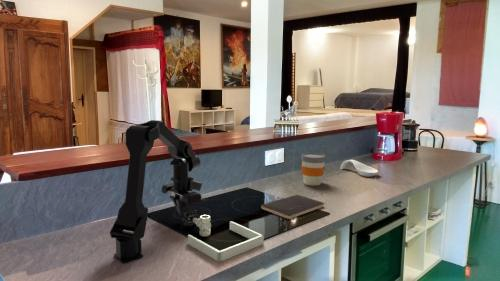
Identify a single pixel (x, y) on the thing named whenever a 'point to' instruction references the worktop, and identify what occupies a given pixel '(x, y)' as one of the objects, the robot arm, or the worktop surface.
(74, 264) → the worktop surface
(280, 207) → the hardcover book
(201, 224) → the valve
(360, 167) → the spoon rest
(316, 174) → the reusable coffee cup
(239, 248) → the u-shaped bracket
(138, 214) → the robot arm
